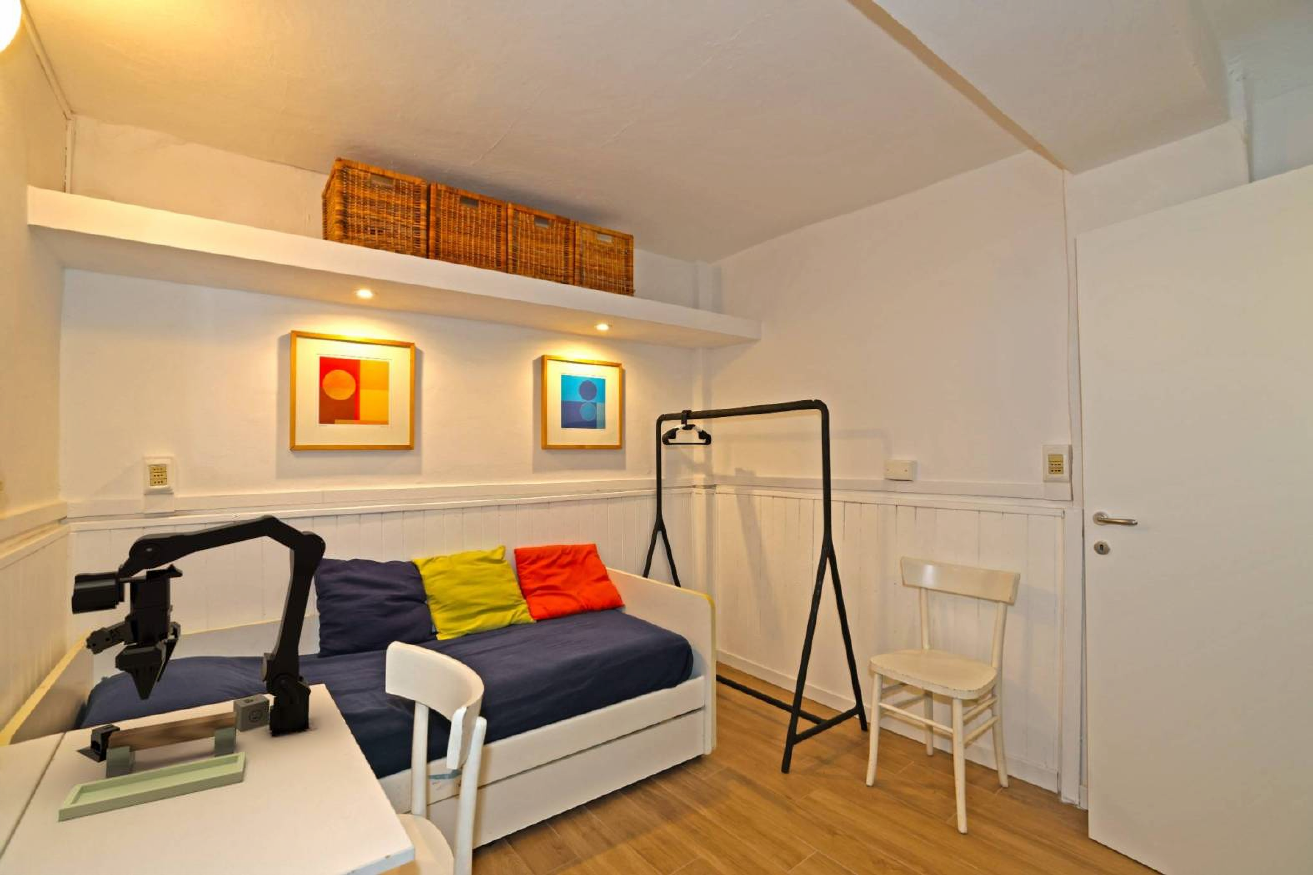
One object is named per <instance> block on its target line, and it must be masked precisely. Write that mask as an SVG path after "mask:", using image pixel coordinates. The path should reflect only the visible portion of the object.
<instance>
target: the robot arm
mask: <svg viewBox="0 0 1313 875" xmlns="http://www.w3.org/2000/svg"><path fill="white" fill-rule="evenodd" d="M263 537H268V538H270V539H271V540H274V541H275V542H277V543H279V544H281V545H283V546H285V547H286V548H288V549H289V568H290V569H289V571H290V575H289V581H288V586H287V592H286V595H285V600H284V604H283V605H284V606H283V610H282V615H281V619H280V625H279V628H278V634H277V639H276V642H275V645H274V647H273V649H272V651H271V652H263V656H262V657H263V659H262V660H263V661H262V667H261V668H260V670H259V671H258V672H259V676H260V678H261V681H262V683H263V684H264V686H265V690H266V692H267V693H268V694H269V695H270V696H273V699H272V700H273V701H272V705H269V724H268V731H269V732H271V733H270V734H271V737H272V738H273V737H277V736H278V737H279V736H283V735H284V736H285V735H289V734H293V733H300V732H305V731H308V730H310V696H311V694H312V689H311V688H310V685H309V684H308V682H307V679H306V677H304V675H303V676H302V674H300V656H299V653H300V652H299V651H300V650H299V646H300V641H301V636H302V632H303V631H302V630H303V625H304V621H305V617H306V612H307V607H308V601H309V596H310V590H311V586H312V581H313V578H314V576H315V575H316V572H317V571H318V569H319V567H320V564H321V563H322V559H323V557H324V555H325V552H326V551H327V550H326V548H327V545H326V541H325V540H324V539H323V537H321V536H320V535H319V534H317V533H315V532H314V531H310V530H305V531H300V530H298V529H297V528H294V527H293V526H291V525H289V524H287V523H285V522H283V521H281V520H280V519H279V518H277V517H276V516H274V515H273V514H264V515H261V516H260V517H256V518H250V519H247V520H246V519H245V520H240V521H237V522H232V523H227V524H222V525H218V526H213V527H212V526H211V527H208V528H203V529H199V530H194V531H184V532H183V531H182V532H180V531H179V532H160V533H159V532H158V533H148V534H145V535H142V536H139V537H138V538H137V539H136V540H134V542H133V544H132V545H131V546H130V549H129V551H128V558H127V559H126V560H125V561H124V562H123V564H122V563H121V564H119V566H118V569H117V570H113V571H104V572H102V571H101V572H93V573H91V572H82V573H77V574H75V576H74V584H73V589H72V590H73V592H72V593H73V594H72V595H71V601H70V604H71V612H72V615H81V614H88V613H96V612H102V611H110V610H111V611H113V610H116V609H117V608H118V606H120V603H125V602H126V584H129V613H128V614H127V615H126V616H124V620H122V621H119V622H117V623H115V624H112V625H109V626H107V627H104V626H102V627H100V628H99V629H97V630H93V631H91V632H90V635H89V636H87V637H86V638H85V642H86V646H85V648H86V649H87V650H90V651H91V652H92V654H93V655H94V656H96V655H98V654H101V653H103V651H105V650H108V649H110V648H112V647H115V646H117V645H119V644H121V643H123V646H125V647H124V648H123V649H122V650H120V651H119V652H118V653H117V655H116V656H114V657H115V658H114V669H118V670H119V671H120V672H125V673H127V674H129V675H131V678H132V681H133V683H134V685H135V688H136V692H137V694H138V696H139V699H140V700H141V701H146V700H149V699H150V697H151V694H152V692H153V690H154V687H155V685H156V683H160V682H161V680H162V678H163V677H164V674H165V671H166V669H167V666H168V665H169V662H170V659H171V658H172V655H173V653H174V652H175V649H176V646H177V644H178V642H179V641H180V640H179V639H180V638H179V637H180V636H181V635H182V631H181V630H182V629H181V628H182V627H181V624H180V623H178V622H177V621H171V620H172V618H171V613H172V612H173V609H174V605H173V604H171V579H175V578H182V577H183V575H184V572H183V570H182V569H179V568H178V567H176V566H175V564H174V563H172V562H175V561H178V560H180V559H182V558H184V557H187V556H189V555H192V554H194V553H197V552H201V551H206V550H209V549H210V550H211V549H214V548H220V547H223V546H228V545H232V544H236V543H242V542H245V541H248V540H249V541H250V540H254V539H259V538H263ZM168 564H169V565H168ZM164 565H168V566H167V567H166V568H159V567H163V566H164ZM157 568H159V569H157ZM144 570H146V571H145V574H144V575H137V574H139V573H140V572H142V571H144ZM135 575H137V576H135ZM170 637H173V638H170Z"/></svg>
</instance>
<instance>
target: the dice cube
mask: <svg viewBox="0 0 1313 875" xmlns="http://www.w3.org/2000/svg"><path fill="white" fill-rule="evenodd" d="M270 701H271V700H270V699H269V698H268V697H266V696H265V695H263V694H262V693H260V694H255V695H251V696H247V697H243V698H238V699H235V700H233V702H232V703H233V709H232V712H233V711H237V731H238V732H240V733H243V732H246V731H250V730H253V729H257V728H260V727H263V726H268V725H269V712H270V706H271V705H270Z"/></svg>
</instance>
